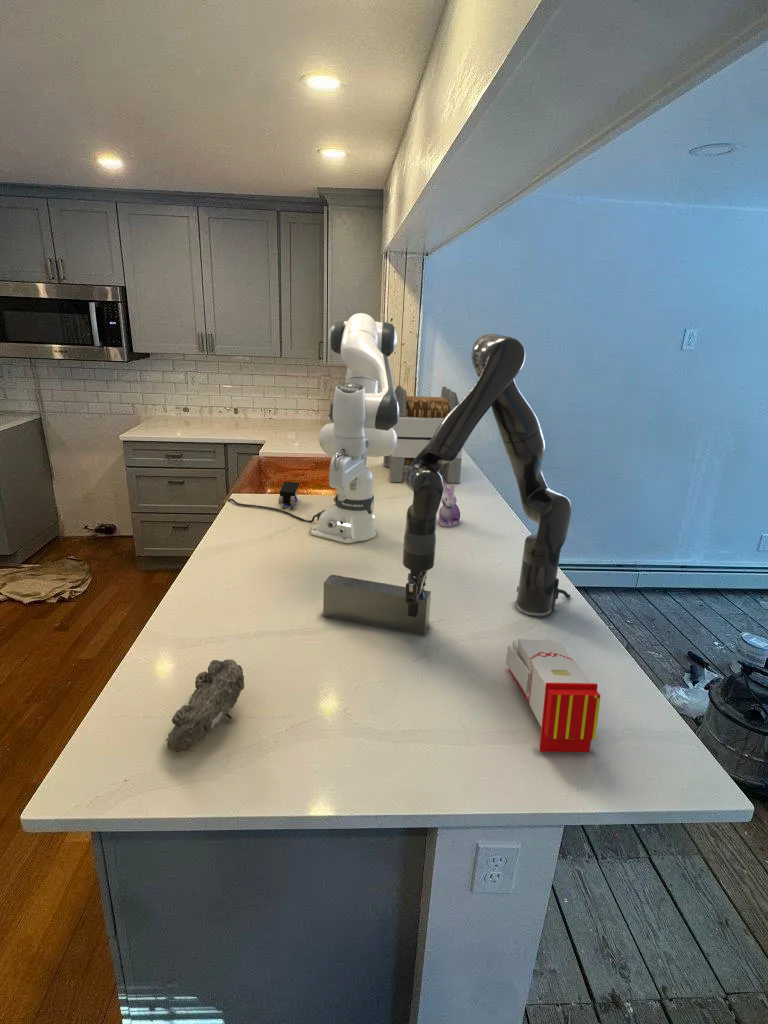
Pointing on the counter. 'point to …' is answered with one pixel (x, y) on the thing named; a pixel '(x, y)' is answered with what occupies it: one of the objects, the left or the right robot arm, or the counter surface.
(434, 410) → the transformer
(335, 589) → the bar
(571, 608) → the counter surface
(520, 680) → the toy
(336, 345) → the left robot arm
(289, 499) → the figurine character
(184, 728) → the fossil
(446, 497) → the figurine
